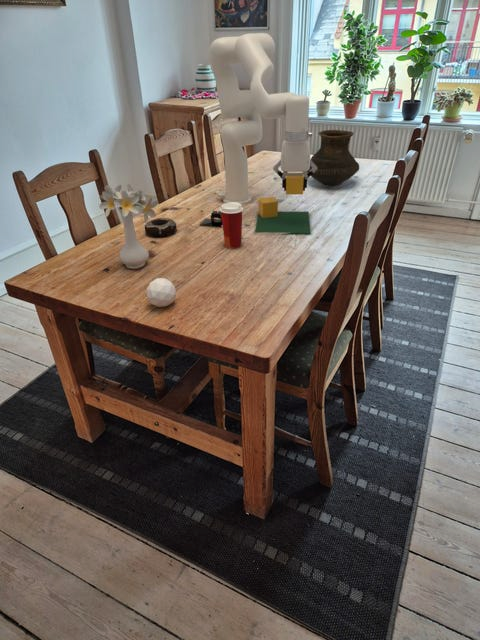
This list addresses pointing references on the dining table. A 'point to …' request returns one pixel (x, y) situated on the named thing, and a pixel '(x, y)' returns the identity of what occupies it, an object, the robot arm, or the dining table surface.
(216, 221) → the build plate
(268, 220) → the towel
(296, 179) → the yellow block
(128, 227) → the flower vase
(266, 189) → the dining table surface
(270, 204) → the yellow block
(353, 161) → the ceramic pot
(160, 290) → the geometric ball
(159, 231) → the donut
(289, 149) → the robot arm
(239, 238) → the paper cup
